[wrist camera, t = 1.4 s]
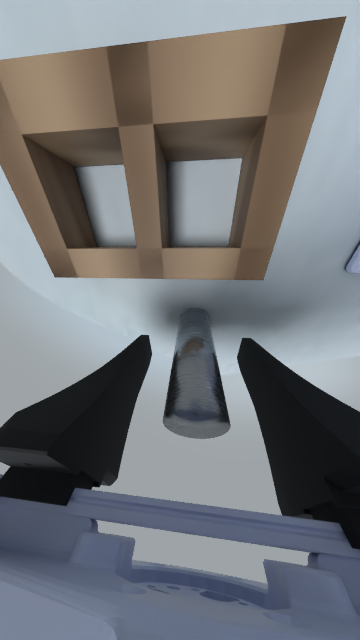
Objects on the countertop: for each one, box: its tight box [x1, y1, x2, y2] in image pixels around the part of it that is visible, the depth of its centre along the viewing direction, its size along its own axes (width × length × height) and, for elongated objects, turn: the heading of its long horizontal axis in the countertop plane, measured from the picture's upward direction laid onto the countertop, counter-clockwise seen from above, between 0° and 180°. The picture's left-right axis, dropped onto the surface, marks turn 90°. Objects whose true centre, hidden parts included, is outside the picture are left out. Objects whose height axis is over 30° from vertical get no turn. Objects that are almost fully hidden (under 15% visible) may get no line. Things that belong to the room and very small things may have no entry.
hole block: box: [0, 16, 346, 280], centre depth 8 cm, size 14×8×3 cm, turn 90°
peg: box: [163, 308, 230, 439], centre depth 10 cm, size 3×3×9 cm
